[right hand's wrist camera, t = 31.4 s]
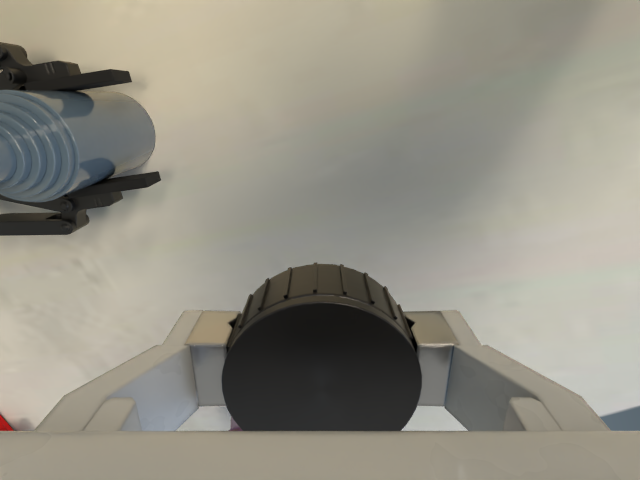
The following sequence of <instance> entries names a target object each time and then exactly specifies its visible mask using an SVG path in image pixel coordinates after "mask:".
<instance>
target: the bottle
mask: <svg viewBox="0 0 640 480" xmlns="http://www.w3.org/2000/svg"><path fill="white" fill-rule="evenodd" d="M154 145H155V131H154V126H153V123H152V121H151V119H150V117H149V115H148V114H147V112H146V111H145V110H144V108H143V107H142V106H141V105H140V104H139V103H138V102H136V101H135V100H134V99H132V98H130V97H129V96H127V95H124V94H121V93H117V92H102V91H51V90H0V194H1V195H3V196H6V197H8V198H11V199H14V200H19V201H26V202H46V201H51V200H54V199H57V198H59V197H62V196H64V195H67V194H69V193H72V192H75V191H77V190H80V189H82V188H85V187H87V186H90V185H92V184H95V183H98V182H100V181H103V180H105V179H108V178H110V177H113V176H115V175H118V174H121V173H123V172H126V171H128V170H131V169H133V168H136V167H138V166H140V165H142V164H143V163H144V162H146V161H147V160H148V158H149V157H150V155H151V154H152V152H153V149H154Z"/></svg>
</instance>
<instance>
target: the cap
mask: <svg viewBox="0 0 640 480" xmlns="http://www.w3.org/2000/svg"><path fill="white" fill-rule="evenodd" d="M411 339H413V337H412V335H411V332H410V329H409V327H408V324H407V322H406V319H405V316H404V314H403V311H402V309H401V306H400V304H399V305H397V304H396V302H395V300H394V299H393V298H392V296H391V295H390V294H389V292H388V289H387V287H386V286H385V287H383V286H381V285H380V284H379V283H378V282H376V281H375V280H374V279H372V278H370V277H369V276H368V274H367V273H364V274H363V273H361V272H358V271H356V270H354V269H350V268H347V267H344V265H342V264H340V266H337V265H333V264H317V263H314V265H305V266H301V267H295V268H291V267H290V268H288V270H287V271H284V272H282V273H280V274H278V275H276V276H274V277H273V278H271V279H269V278H268V279H266V281H265V283H264V284H263V285H262V286H261V287H260V288H258V289H257V290H256V292H255V293H254V294H253V295H251V294H250V295H249V297H248V300H247V303H246V305H245V307H244V310H243V312H242V314H240V313H239V316H238V318H237V321H236V324H235V326H234V329H233V332H232V335H231V337H230V340H229V343H228V345H227V349H228V350H229V351H228V353H227V356H226V359H225V362H224V366H223V370H222V380H221V381H222V392H223V396H224V401H225V403H226V406H227V408H228V411H229V413H230V414H231V416H232V418H233V419H234V421H235V422H236V423H237V425H238V426H239V427H240V428H241V429H242V430H243V431H401V430H402V429H403V428H404V426H405V425H406V424H407V423H408V421H409V420H410V418H411V417H412V415H413V413H414V411H415V409H416V407H417V405H418V402H419V399H420V395H421V389H422V373H421V367H420V363H419V360H418V357H417V354H416V352H415V349H414V346H413V344H412V341H411Z"/></svg>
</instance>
